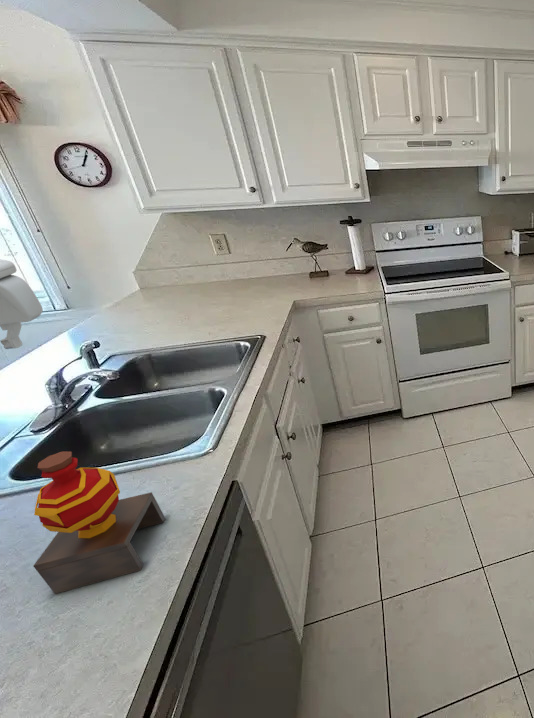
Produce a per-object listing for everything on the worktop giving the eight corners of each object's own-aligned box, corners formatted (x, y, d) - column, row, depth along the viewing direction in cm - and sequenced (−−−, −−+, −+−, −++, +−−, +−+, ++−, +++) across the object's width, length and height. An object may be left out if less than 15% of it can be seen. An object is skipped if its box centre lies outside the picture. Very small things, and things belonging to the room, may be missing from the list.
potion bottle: (147, 513, 74) (110, 447, 68) (74, 561, 66) (25, 491, 59) (115, 495, 78) (78, 432, 72) (44, 538, 70) (-6, 471, 63)
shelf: (54, 594, 68) (32, 566, 65) (91, 536, 78) (74, 509, 75) (140, 570, 72) (123, 542, 69) (165, 518, 82) (151, 492, 79)
